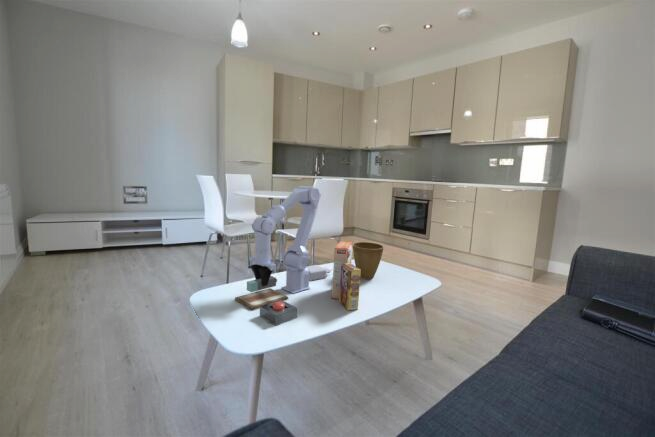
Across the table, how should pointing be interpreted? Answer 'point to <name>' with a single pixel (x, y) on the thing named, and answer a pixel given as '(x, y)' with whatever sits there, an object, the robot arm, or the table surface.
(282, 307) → the button
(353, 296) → the candy box
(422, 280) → the table surface
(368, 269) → the plant pot
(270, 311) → the button housing
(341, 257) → the cracker box
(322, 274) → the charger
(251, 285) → the marker
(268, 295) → the wooden picture frame
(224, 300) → the table surface
